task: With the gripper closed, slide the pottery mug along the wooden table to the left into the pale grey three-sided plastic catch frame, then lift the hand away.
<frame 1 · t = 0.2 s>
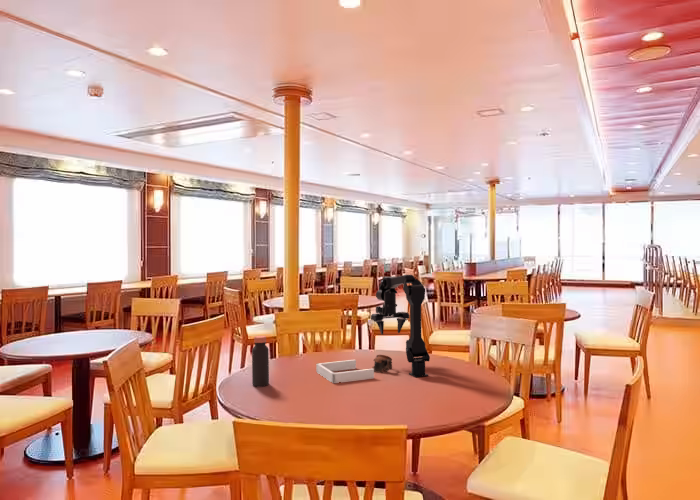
hand: (390, 333, 245), 14 cm above the table, fingers open, 9 cm apart
catch frame: (344, 375, 221), on the table
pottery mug: (383, 371, 229), on the table
bottle: (260, 385, 208), on the table
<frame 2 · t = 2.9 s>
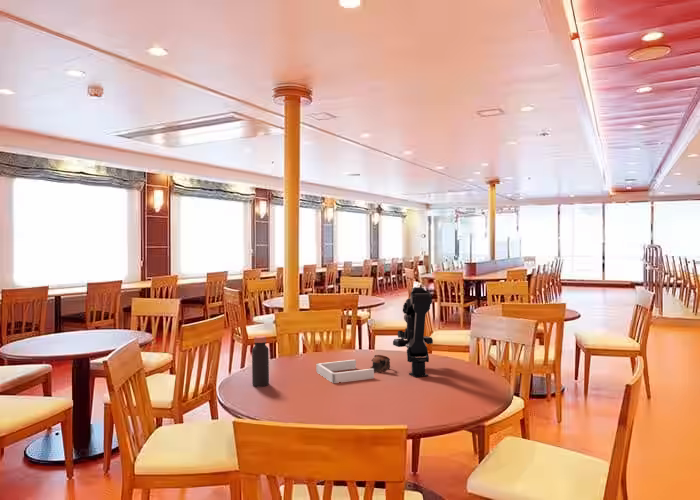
hand: (413, 359, 235), 3 cm above the table, fingers closed
nothing on the table moved.
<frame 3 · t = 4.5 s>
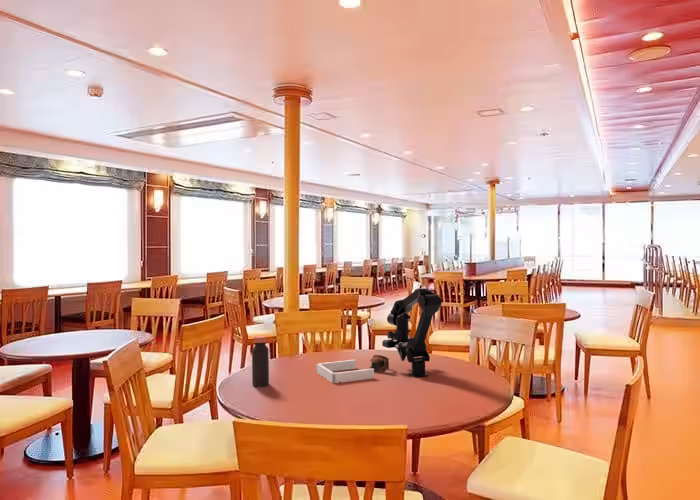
hand: (402, 360, 233), 4 cm above the table, fingers closed
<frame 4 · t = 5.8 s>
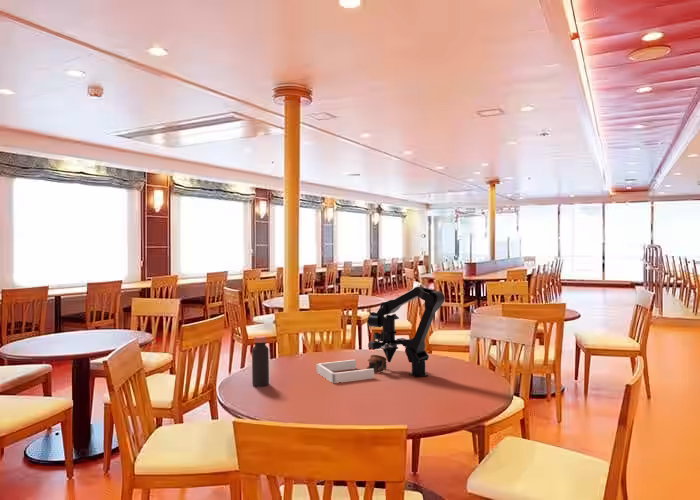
hand: (389, 362, 230), 4 cm above the table, fingers closed
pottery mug: (377, 371, 229), on the table, touching gripper
everything else where it was.
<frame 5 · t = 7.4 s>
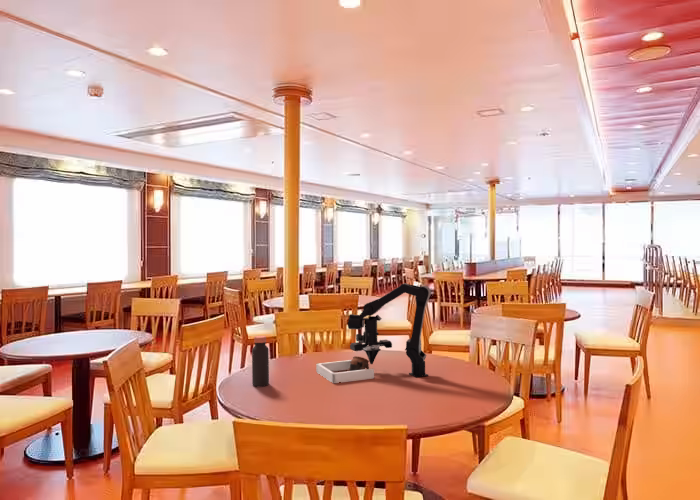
hand: (371, 364, 227), 4 cm above the table, fingers closed
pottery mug: (359, 373, 225), on the table, touching gripper
everything else where it was.
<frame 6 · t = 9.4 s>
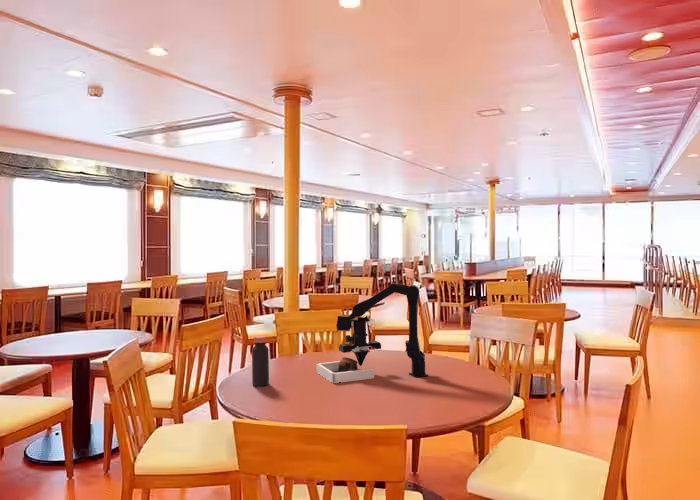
hand: (360, 365, 224), 3 cm above the table, fingers closed
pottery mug: (348, 374, 224), on the table, touching gripper
everything else where it was.
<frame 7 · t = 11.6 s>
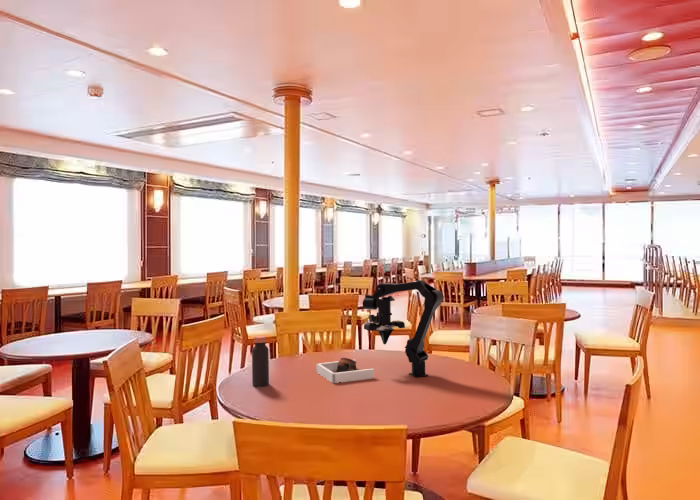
hand: (384, 344, 230), 12 cm above the table, fingers closed
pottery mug: (346, 374, 224), on the table
everything else where it was.
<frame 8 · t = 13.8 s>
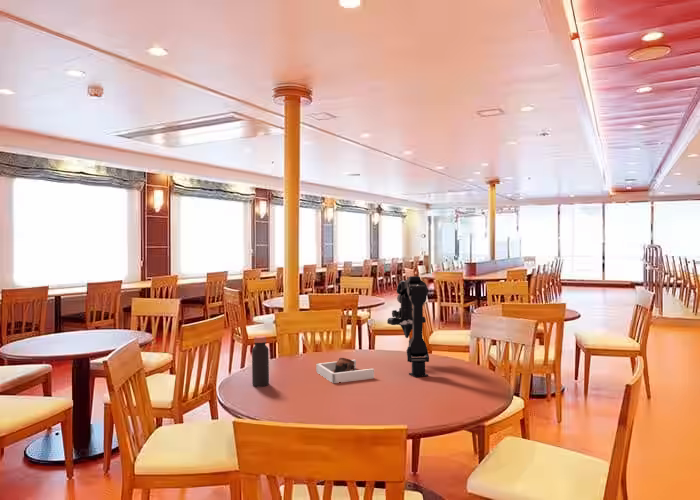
hand: (406, 337, 245), 12 cm above the table, fingers closed
nothing on the table moved.
at the end: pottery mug inside the target area on the catch frame (1.9 cm from its centre), point 0.0 cm above the catch frame's base; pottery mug tilted 2° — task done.
